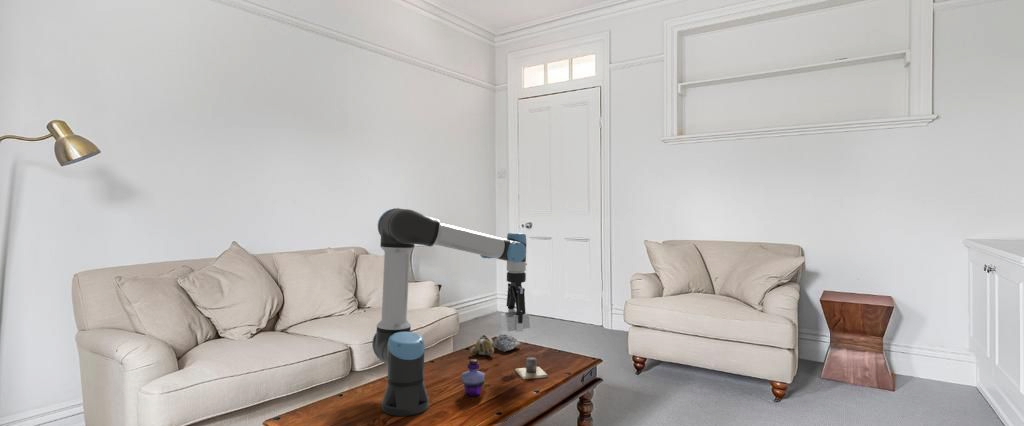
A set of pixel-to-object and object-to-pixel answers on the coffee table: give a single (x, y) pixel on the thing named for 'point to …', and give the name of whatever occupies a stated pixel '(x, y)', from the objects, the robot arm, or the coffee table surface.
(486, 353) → the ceramic sculpture
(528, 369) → the cream square tile
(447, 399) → the coffee table surface
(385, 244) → the robot arm
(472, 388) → the potion bottle
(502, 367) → the coffee table surface
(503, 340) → the rock
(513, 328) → the grey hollow square block
